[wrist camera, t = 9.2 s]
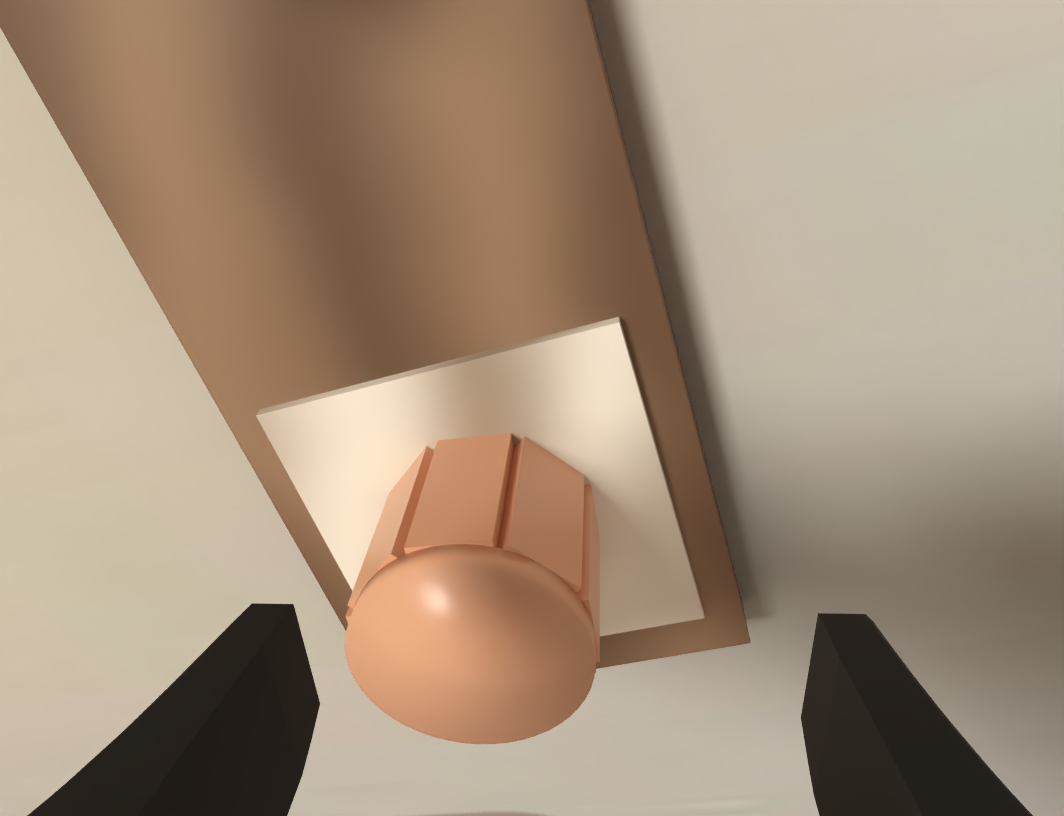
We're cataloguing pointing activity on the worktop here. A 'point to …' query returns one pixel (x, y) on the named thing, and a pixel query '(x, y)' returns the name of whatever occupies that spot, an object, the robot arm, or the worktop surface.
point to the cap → (480, 593)
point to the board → (400, 262)
